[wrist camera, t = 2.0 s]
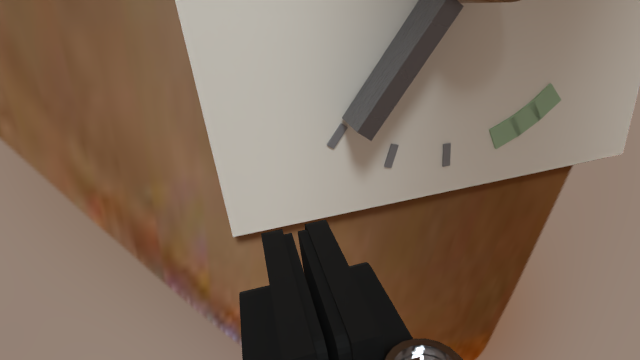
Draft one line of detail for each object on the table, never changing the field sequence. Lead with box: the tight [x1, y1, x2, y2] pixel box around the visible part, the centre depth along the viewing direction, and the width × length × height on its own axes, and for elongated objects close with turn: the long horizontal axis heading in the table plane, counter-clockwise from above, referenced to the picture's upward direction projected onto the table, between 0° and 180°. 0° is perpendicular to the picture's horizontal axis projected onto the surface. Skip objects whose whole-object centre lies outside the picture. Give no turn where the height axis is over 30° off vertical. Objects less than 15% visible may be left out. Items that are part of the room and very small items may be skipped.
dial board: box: [175, 0, 640, 237], centre depth 24 cm, size 18×30×1 cm, turn 97°
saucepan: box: [342, 0, 520, 141], centre depth 20 cm, size 13×4×5 cm, turn 147°
